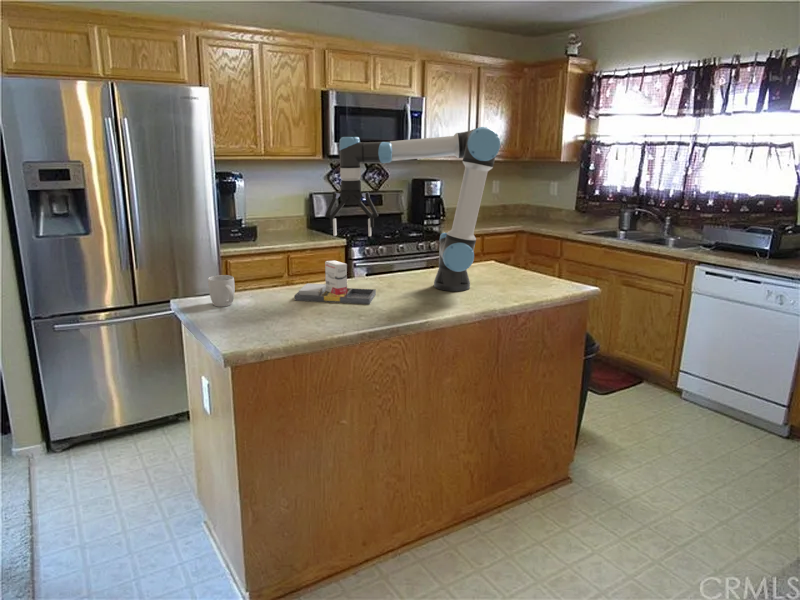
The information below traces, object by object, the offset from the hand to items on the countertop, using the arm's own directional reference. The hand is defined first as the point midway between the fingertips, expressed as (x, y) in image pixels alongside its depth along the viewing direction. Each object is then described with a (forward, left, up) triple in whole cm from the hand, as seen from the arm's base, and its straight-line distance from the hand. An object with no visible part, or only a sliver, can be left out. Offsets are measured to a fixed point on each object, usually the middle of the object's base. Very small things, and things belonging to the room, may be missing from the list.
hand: (352, 235), depth 212 cm
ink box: (+5, +6, -21) cm, 23 cm away
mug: (+42, +24, -23) cm, 54 cm away
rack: (+5, +6, -23) cm, 25 cm away
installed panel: (+15, +7, -23) cm, 28 cm away
